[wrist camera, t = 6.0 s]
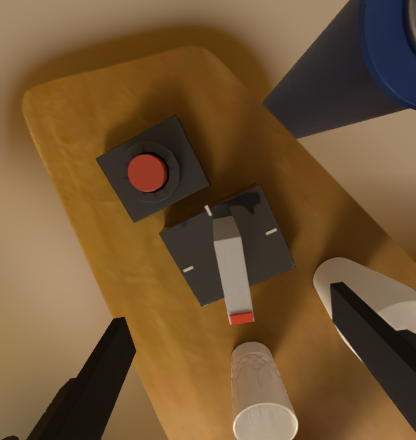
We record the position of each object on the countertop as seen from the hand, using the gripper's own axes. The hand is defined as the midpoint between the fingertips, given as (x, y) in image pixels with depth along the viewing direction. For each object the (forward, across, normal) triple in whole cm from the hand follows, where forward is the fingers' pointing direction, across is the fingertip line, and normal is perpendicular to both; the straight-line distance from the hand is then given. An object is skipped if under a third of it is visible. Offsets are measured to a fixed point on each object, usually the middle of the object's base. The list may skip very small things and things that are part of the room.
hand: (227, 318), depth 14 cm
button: (+14, -6, +10) cm, 18 cm away
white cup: (+18, +1, -22) cm, 29 cm away
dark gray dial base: (+18, +1, -2) cm, 18 cm away
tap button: (+18, -6, +10) cm, 21 cm away
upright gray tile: (+15, +1, -2) cm, 15 cm away
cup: (+18, +16, -10) cm, 26 cm away
